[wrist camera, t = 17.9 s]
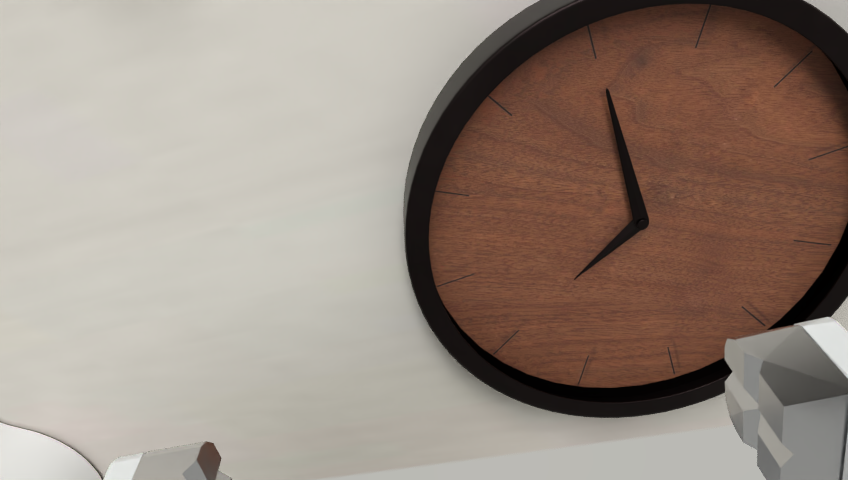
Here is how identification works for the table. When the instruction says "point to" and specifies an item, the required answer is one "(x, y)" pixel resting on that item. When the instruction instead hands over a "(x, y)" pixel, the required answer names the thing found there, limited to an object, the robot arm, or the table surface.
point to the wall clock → (631, 197)
